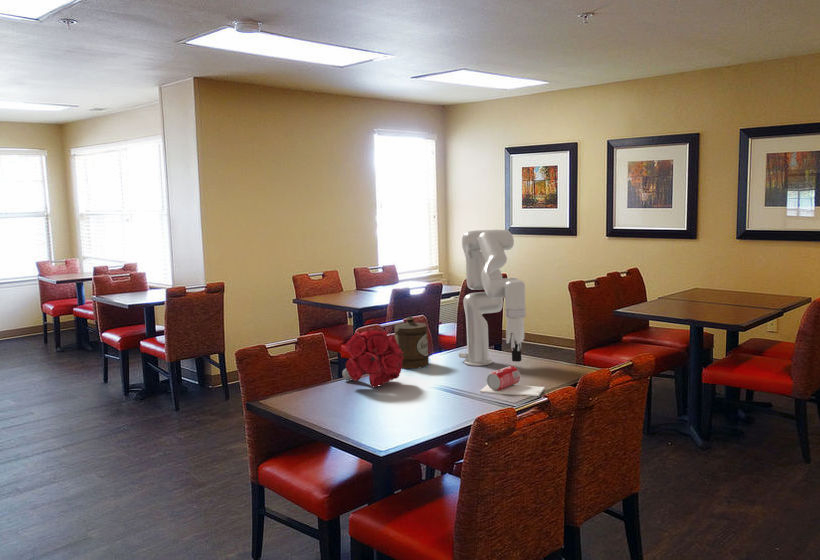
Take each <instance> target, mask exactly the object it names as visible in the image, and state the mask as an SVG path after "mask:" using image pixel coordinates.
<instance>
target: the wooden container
mask: <svg viewBox="0 0 820 560" xmlns="http://www.w3.org/2000/svg"><path fill="white" fill-rule="evenodd" d="M414 319H415V317H413V316H408V317H406V322H403V323H398V324H395V325H394V338H395V339H396V342H397V344H398V345H399V348H400V349H401V352H403V353H402V354H400V355H403V356H404V358H403V360H402V368H401V369H406V368H413V369H420V368H419V367H421V368H425V367H426V365H427V366H428V365H429V345H428V342H429V341H428V325H427V324H426V323H424V322H415V321H414ZM424 366H425V367H424Z"/></svg>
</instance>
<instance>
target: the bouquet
mask: <svg viewBox="0 0 820 560" xmlns="http://www.w3.org/2000/svg"><path fill="white" fill-rule="evenodd" d="M388 332H389V331H388V330H373V329H369V330H368V329H367V330H364V331H362V332H361V333H360V332H359V331H356V332H354V333H353V335H352V336H351V337H350V339H348V341H347V342H346V344H345V347H344V351H345V352H346V353H349V356H350V357H349V358H348V360H346V361H345V368H344V369H343V370H342V371H341V372H342V373H341V374H342V377H343V378H344V380H346V379H347V380H346V381H351V380H353V381H354V382H357V381H359V380H360V379H361V377H362V376H363V375H364V374H365V373H366V374H367V375H369V376H368V380H369V384H370V386H371V387H372V388H373V386H374V388H376V387H375V386H378V385H382V386H383V385H384V384H385V383H388V382H390V381H393V380H397V379H398V378H399V377H400V374H401V371H402V369H403V368H402V360H403V358H404V356H403V355H400V354H402V353H403V352H401V349H400V348H399V345H398V344H397V342H396V339H395V336H393V335H390V334H389V335H388ZM350 379H351V380H350Z"/></svg>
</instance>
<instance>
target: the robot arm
mask: <svg viewBox="0 0 820 560" xmlns="http://www.w3.org/2000/svg"><path fill="white" fill-rule="evenodd" d="M514 241H515V240H514V236H513V234H512V233H511V232H510V231H509V230H508V229H485V230H484V229H482V230H481V229H480V230H470V231H466V232H464V233H463V235H462V237H461V246H462V249H463V254H464V256H465V257H464V258H465V269H466V270H465V275H466V277H465V278H466V286H467V288H468V289H470V290H474V291H476V290H477V291H478V290H479V292H471V293H468V294H466V295H465V296H464V297H463V300H462V301H463V302H462V303H463V309H464V313H465V323H466V324H465V325H466V326H465V327H466V349H467V350H466V352H459V353H458V357H459V358H460V359H464V360H463V361H464V362H463V363H464V365H466V366H467V365H468V366H472V367H473V366H475V367H480V366H481V367H482V366H483V367H484V366H488V365H491V364H492V363H493V359H492V358H490V354H489V353H490V352H489V325H488V321H487V320H486V319H485V317H484V316H483V315H484V314H493V313H499V312H501V311H502V309H503V306H505V307H504V311H505V312H504V313H505V315H504V316H505V319H506V324H505V325H506V328H505V343H506V344H507V345H509V344H510V348H511V361H512V362H517V363H518V362H520V363H521V361H522V343H523V341H525V323H524V322H525V320H524V319H525V318H526V315H527V313H526V286H525V285H526V283H525V281H523V280H520V279H518V278H516V277H508V278H507V277H505V278H504V277H503V274H502V271H501V268H503V267H504V266H505V265H506V263H507V261H508V258H507V255H506V252H505V251H510V250H511V249H512V248H513V247H514V244H515V243H514ZM481 290H484V291H481Z"/></svg>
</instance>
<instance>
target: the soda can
mask: <svg viewBox="0 0 820 560" xmlns="http://www.w3.org/2000/svg"><path fill="white" fill-rule="evenodd" d="M520 379H521V373H520V370H519V369H518V368H517V367H516V366H514V365H508V366H506V367H503V368H500V369H497V370H494V371H492V372H490V374H488V375H487V379H486V383H487V384H488V386H489V387H490V388H491V389H493V390H500V389H503V388H506V387H508V386H511V385H517V384H518V383H519V382H520V381H521V380H520Z"/></svg>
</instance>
